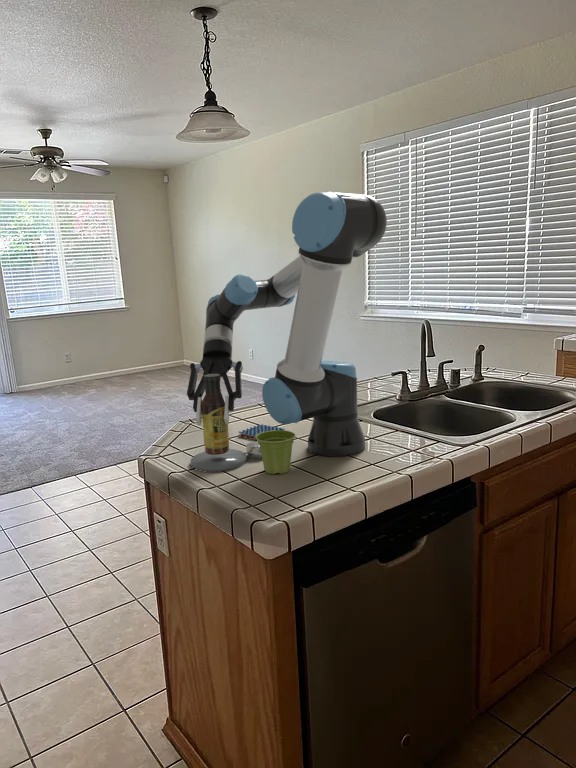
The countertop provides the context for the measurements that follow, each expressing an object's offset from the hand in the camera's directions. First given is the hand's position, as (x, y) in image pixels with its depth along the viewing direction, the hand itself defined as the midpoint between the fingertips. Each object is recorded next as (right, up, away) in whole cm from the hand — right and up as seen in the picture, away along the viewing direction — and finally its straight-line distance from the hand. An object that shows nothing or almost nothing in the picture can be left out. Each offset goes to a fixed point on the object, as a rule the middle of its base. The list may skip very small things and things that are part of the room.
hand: (212, 422), depth 137 cm
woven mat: (+11, -6, +27) cm, 30 cm away
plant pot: (+16, -12, -2) cm, 20 cm away
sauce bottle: (+1, -8, +5) cm, 10 cm away
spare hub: (+11, -9, +10) cm, 17 cm away
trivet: (+1, -11, +6) cm, 12 cm away
